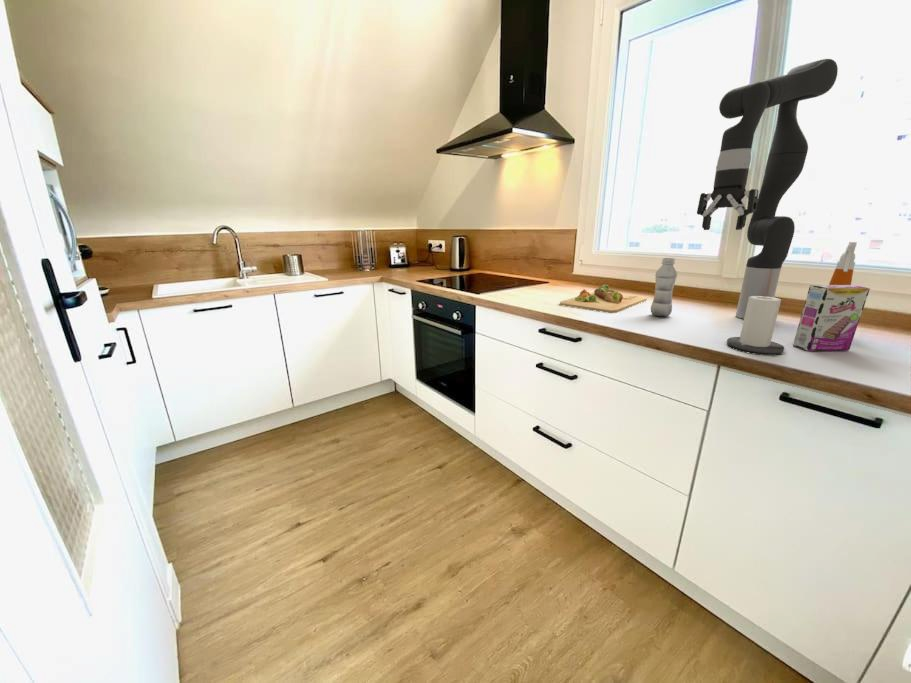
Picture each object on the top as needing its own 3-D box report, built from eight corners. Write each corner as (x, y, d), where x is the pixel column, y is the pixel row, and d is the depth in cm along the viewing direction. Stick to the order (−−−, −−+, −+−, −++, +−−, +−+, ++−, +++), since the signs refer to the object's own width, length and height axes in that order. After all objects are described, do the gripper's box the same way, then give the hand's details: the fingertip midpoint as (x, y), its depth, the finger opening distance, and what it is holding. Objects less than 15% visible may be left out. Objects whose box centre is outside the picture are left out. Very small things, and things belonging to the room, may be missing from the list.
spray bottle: (809, 336, 110) (835, 242, 102) (810, 328, 118) (834, 240, 110) (843, 341, 106) (873, 242, 98) (842, 333, 113) (869, 241, 105)
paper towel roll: (746, 338, 105) (756, 295, 101) (772, 344, 100) (784, 298, 96) (736, 342, 101) (745, 297, 98) (762, 348, 97) (774, 301, 93)
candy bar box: (808, 352, 97) (826, 287, 92) (791, 346, 102) (808, 284, 97) (851, 351, 97) (871, 287, 93) (832, 345, 102) (850, 284, 97)
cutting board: (613, 315, 140) (616, 295, 138) (557, 306, 156) (558, 288, 153) (648, 301, 164) (650, 283, 161) (596, 295, 179) (597, 278, 177)
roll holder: (738, 338, 109) (745, 306, 106) (791, 349, 99) (800, 315, 96) (717, 345, 103) (724, 312, 100) (771, 358, 93) (780, 321, 90)
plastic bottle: (673, 318, 132) (683, 259, 126) (652, 317, 133) (661, 259, 127) (667, 314, 138) (676, 257, 132) (647, 313, 139) (655, 257, 133)
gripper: (769, 165, 102) (756, 229, 106) (711, 172, 113) (702, 229, 118) (756, 164, 98) (743, 230, 103) (698, 171, 110) (689, 230, 114)
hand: (721, 229), depth 110 cm, fingers open, 8 cm apart
